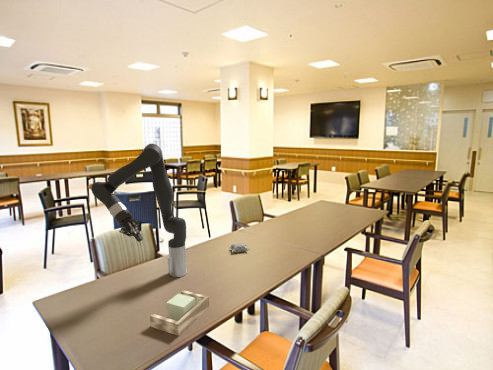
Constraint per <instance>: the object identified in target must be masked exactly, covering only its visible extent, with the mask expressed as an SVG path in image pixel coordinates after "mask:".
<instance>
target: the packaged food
mask: <svg viewBox="0 0 493 370" xmlns="http://www.w3.org/2000/svg"><path fill="white" fill-rule="evenodd" d="M229 249H230V250H232V251H231V252H232V253H243V252H247V251H249V250H250V248H249V247H248V246H247V245H246V244H245V243H234V244H231V246H230V247H229Z"/></svg>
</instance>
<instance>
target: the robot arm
mask: <svg viewBox="0 0 493 370" xmlns="http://www.w3.org/2000/svg"><path fill="white" fill-rule="evenodd" d="M148 168H150V172H151V180H152V181H151V182H152V187H153V193H154V194H155V198H156V200H157V203H158V207H159V211H160V215H161V221H162V225H163V227H164V230H165V231H166V232H167V233H169V234H173V237H172V238H171V239H169V240H168V241H167V243H168V244H167V245H168V258H167V265H168V267H167V268H168V275H170V277H172V278H181V277H184V276H186V275H187V254H186V240H187V223H186V220H185V219H184V218H182V217H178V216H175V215H174V213H173V209H172V205H173V202H174V198H175V193H174V190H173V187H172V184H171V181H170V178H169V175H168V172H167V170H166V166H165V160H164V156H163V151H162V148H161V147H160V146H159V145H157V144H156V143H148V144H147V145H146V146H145V147H143V150H142V152H141V153H140V154H139V155H138V156H137V157H136V158H135V159H134V160H132V161H131V162H129V163H127V164H125V165H123V166H122V167H120V168H118V169H117V170H115V171H114V172H112V173H111V174H109V175H108V177H107V181H105V182H102V181H95V182H94V183H92V184H91V187H90V189H91V193H92V195H93V196H94V197H95V198H96V199H97V200H99V202H101V203H102V204H103V205H104V206H105V208H106V209H107V210H108V212H109V214H110V215H111V216H112V218H113V219H114V220H115V222H116V223H117V225H119V227H120V229H119V231H118V232H119V233H120V234H123V235H125V236H126V237H127V236H128V237H133V238H134V239H135V240H136V241H137V242H139V243H140V242H142V241H143V239H144V238H143V237H144V236H142V234H141V233H140V232H142V221H141V220H140V221H136V219H134V218H133V217H134V216H133V214H132V213H131V211H130V210H129V209H128V208H127V207H126V205H125V204H124V203H123V202H122V201H121V200H120V198H119V197H118V196H117V195H115V194H114V192H116V190H117V189H118V188H119V187H120V186H122V185H124V183H126V182H127V181H128V180H130V179H131V178H133V177H135V176H136V175H137V174H138V173H140V172H142V171H143V170H146V169H148Z"/></svg>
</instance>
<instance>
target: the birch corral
mask: <svg viewBox="0 0 493 370" xmlns="http://www.w3.org/2000/svg"><path fill="white" fill-rule="evenodd" d="M180 294H182V295H186V296H190V297H194V298H195V306H194V307H193V308H192V309H191V310H190V311H189V312H188V313H187V314H185V315H184V316H183V317H182V318H181V319H180V320H179V321H175V320H172V319H168V318H167V317H165V316H162V315H158V314H155V313H151V314H150V315H149V320H150V321H149V322H150V327H151V328H154V329H155V330H156V329H157V330H159V331H162V332H166V333H169V334H172V335H175V336H176V337H177V336H178V337H180V336H181V335H182V334H183V333H185V331H186V330H188V328H189V327H190V326H191V325H192V324H193V323H194V322H195V321H196V320H198V319H199V318H200V317H201V315H202V314H204V312H206V311H207V310H208V309H209V307H210V297H209V296H208V295H203V294H200V293H195V292H191V291H188V290H184V289H182V291H180Z"/></svg>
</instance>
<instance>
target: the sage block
mask: <svg viewBox="0 0 493 370" xmlns="http://www.w3.org/2000/svg"><path fill="white" fill-rule="evenodd" d="M194 306H196V305H195V298H194V297H190V296H186V295H182V294H181V293H177V294H176V295H174V296H173V297H172V298H170V299H169V300H167V302H166V313H167V315H166V316H167V317H166V318H168V319H172V320H175V321H179V320H180V319H181V318H182V317H183V316H184V315H185V314H187V313H188V312H189V311H190V310H191V309H192V308H193V307H194Z"/></svg>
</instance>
